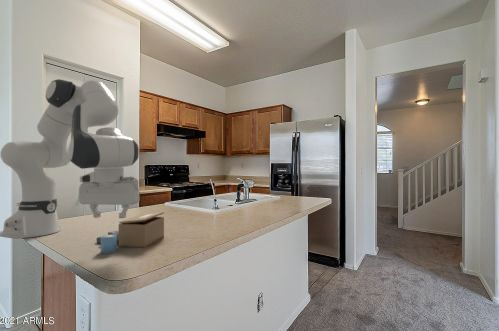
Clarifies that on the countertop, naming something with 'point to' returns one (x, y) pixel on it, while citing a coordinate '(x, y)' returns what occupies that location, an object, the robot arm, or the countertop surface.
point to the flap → (142, 217)
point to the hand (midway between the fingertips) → (109, 217)
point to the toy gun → (109, 234)
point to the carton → (141, 232)
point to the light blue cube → (108, 244)
